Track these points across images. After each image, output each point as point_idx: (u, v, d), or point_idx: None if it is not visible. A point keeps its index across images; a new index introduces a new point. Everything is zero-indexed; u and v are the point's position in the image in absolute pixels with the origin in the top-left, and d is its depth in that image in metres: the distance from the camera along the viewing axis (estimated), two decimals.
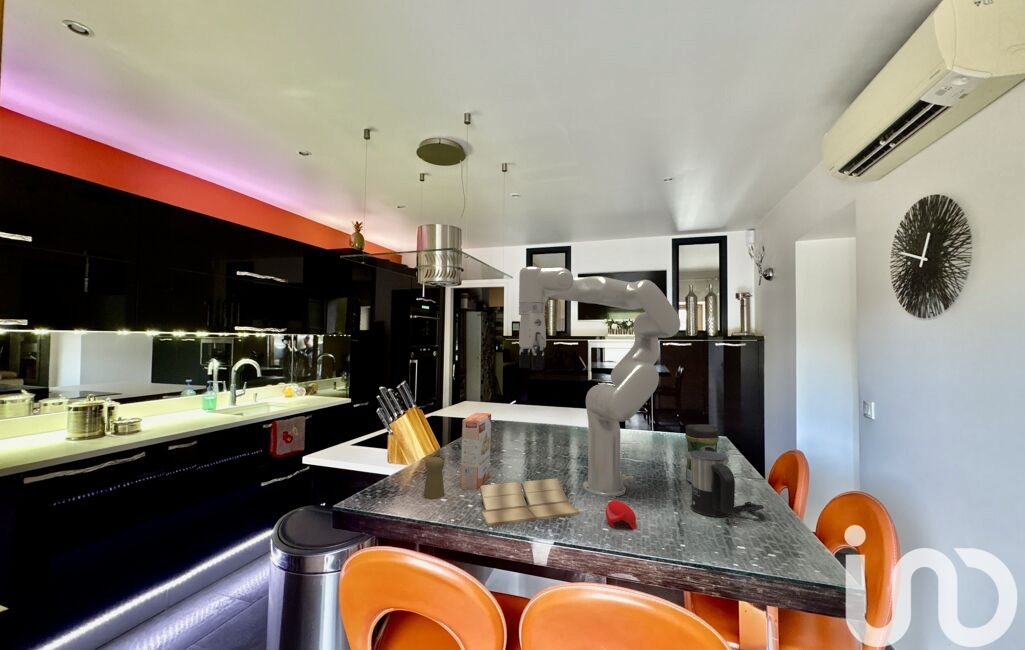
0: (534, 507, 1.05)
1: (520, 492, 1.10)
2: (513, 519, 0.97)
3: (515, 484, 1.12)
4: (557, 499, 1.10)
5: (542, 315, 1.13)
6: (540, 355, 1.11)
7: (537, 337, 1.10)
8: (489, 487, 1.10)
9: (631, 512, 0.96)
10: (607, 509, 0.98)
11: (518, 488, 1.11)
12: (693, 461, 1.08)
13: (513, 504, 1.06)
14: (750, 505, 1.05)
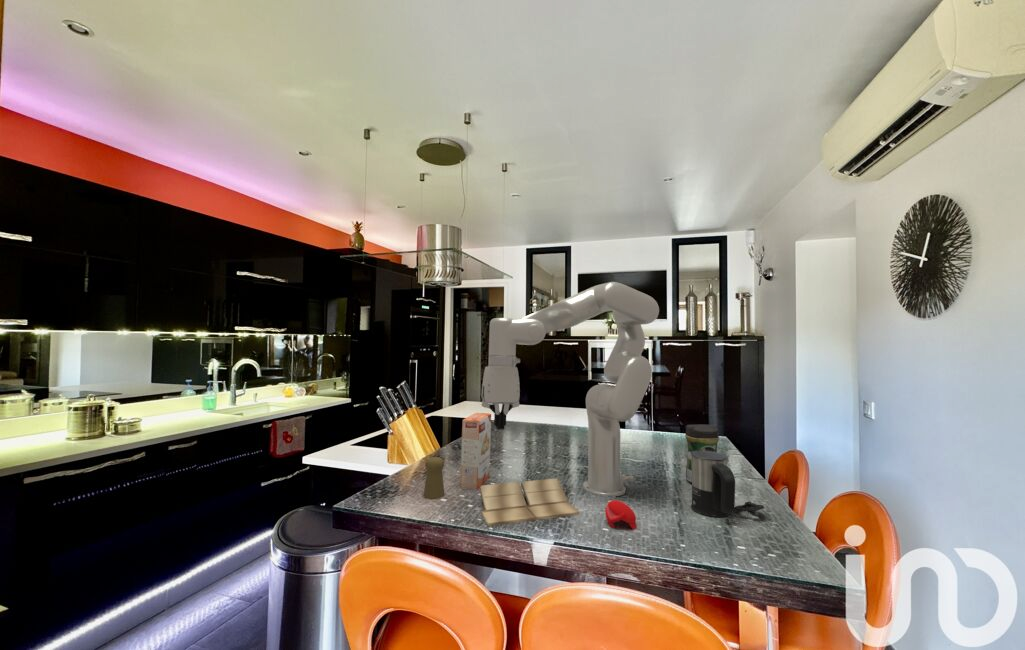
0: (534, 507, 1.05)
1: (520, 492, 1.10)
2: (513, 519, 0.97)
3: (515, 484, 1.12)
4: (557, 499, 1.10)
5: None
6: None
7: None
8: (489, 487, 1.10)
9: (631, 512, 0.96)
10: (606, 509, 0.98)
11: (518, 488, 1.11)
12: (693, 461, 1.08)
13: (513, 504, 1.06)
14: (750, 505, 1.05)
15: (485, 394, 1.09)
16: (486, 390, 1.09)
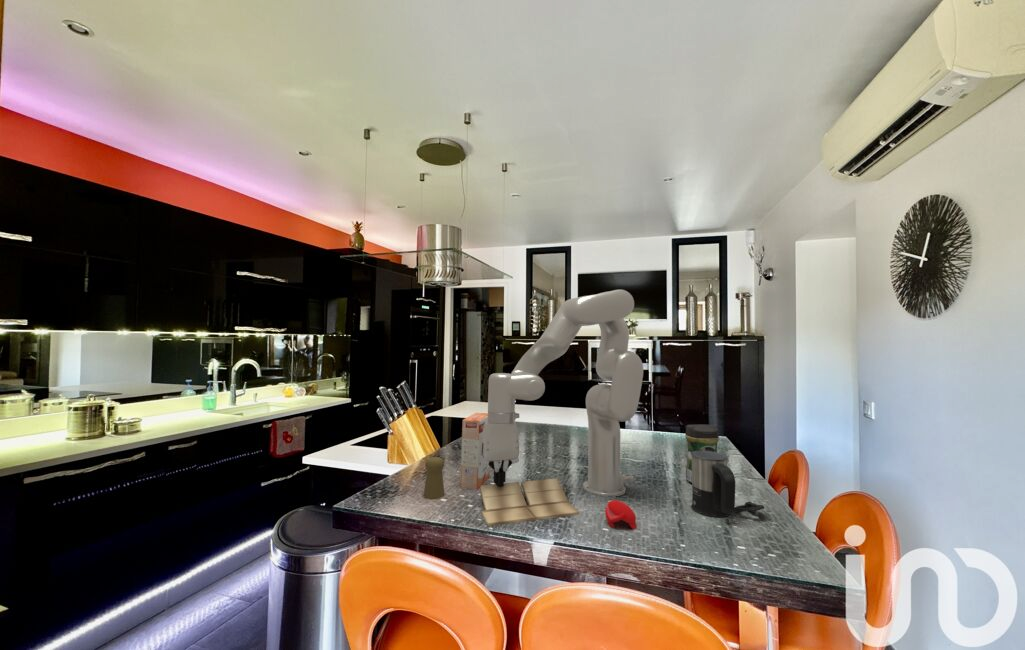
0: (534, 507, 1.05)
1: (520, 492, 1.10)
2: (513, 519, 0.97)
3: (515, 484, 1.12)
4: (557, 499, 1.10)
5: None
6: None
7: None
8: (488, 487, 1.10)
9: (631, 512, 0.96)
10: (606, 509, 0.98)
11: (518, 488, 1.11)
12: (694, 461, 1.08)
13: (513, 504, 1.06)
14: (751, 505, 1.05)
15: (484, 452, 1.08)
16: (485, 448, 1.08)
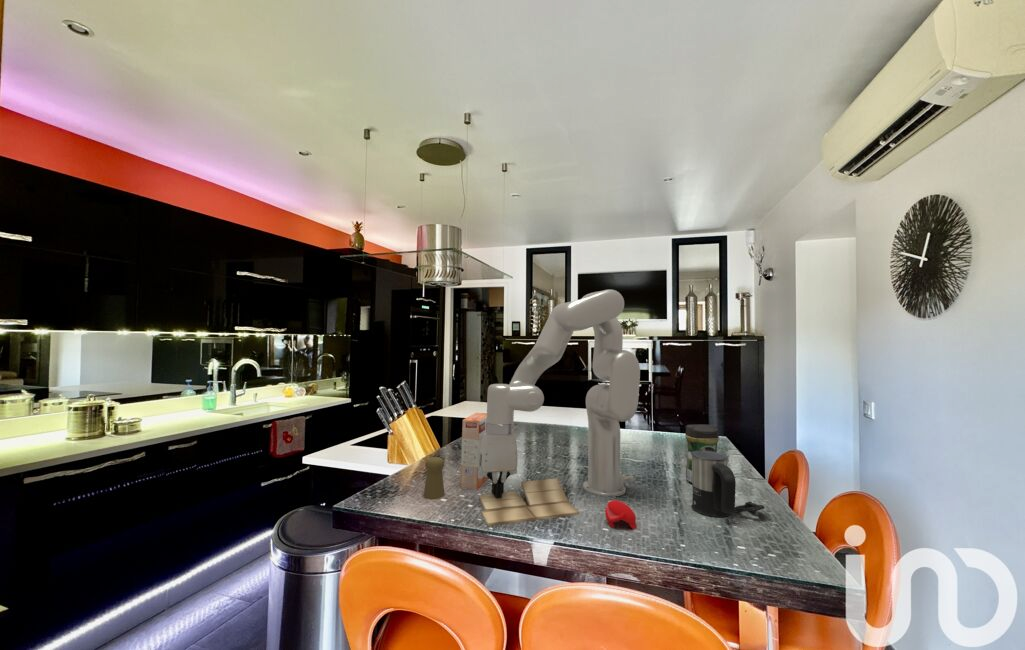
0: (534, 507, 1.05)
1: (519, 497, 1.10)
2: (513, 519, 0.97)
3: (514, 492, 1.13)
4: (557, 499, 1.10)
5: None
6: None
7: None
8: (487, 495, 1.11)
9: (631, 512, 0.96)
10: (606, 509, 0.98)
11: (517, 495, 1.12)
12: (694, 461, 1.08)
13: (513, 505, 1.06)
14: (751, 505, 1.05)
15: (482, 463, 1.08)
16: (483, 459, 1.08)
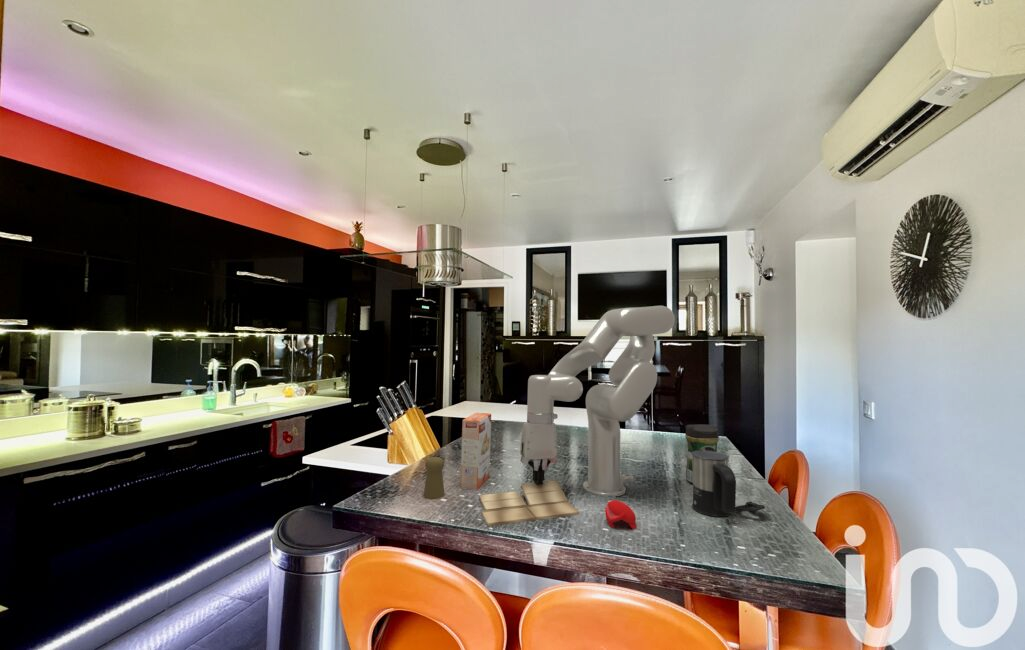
0: (534, 507, 1.05)
1: (519, 497, 1.10)
2: (513, 519, 0.97)
3: (514, 492, 1.13)
4: (557, 499, 1.10)
5: None
6: None
7: None
8: (487, 495, 1.11)
9: (631, 512, 0.96)
10: (606, 509, 0.98)
11: (517, 495, 1.12)
12: (694, 461, 1.08)
13: (513, 505, 1.06)
14: (751, 505, 1.06)
15: (524, 451, 1.12)
16: (526, 447, 1.12)
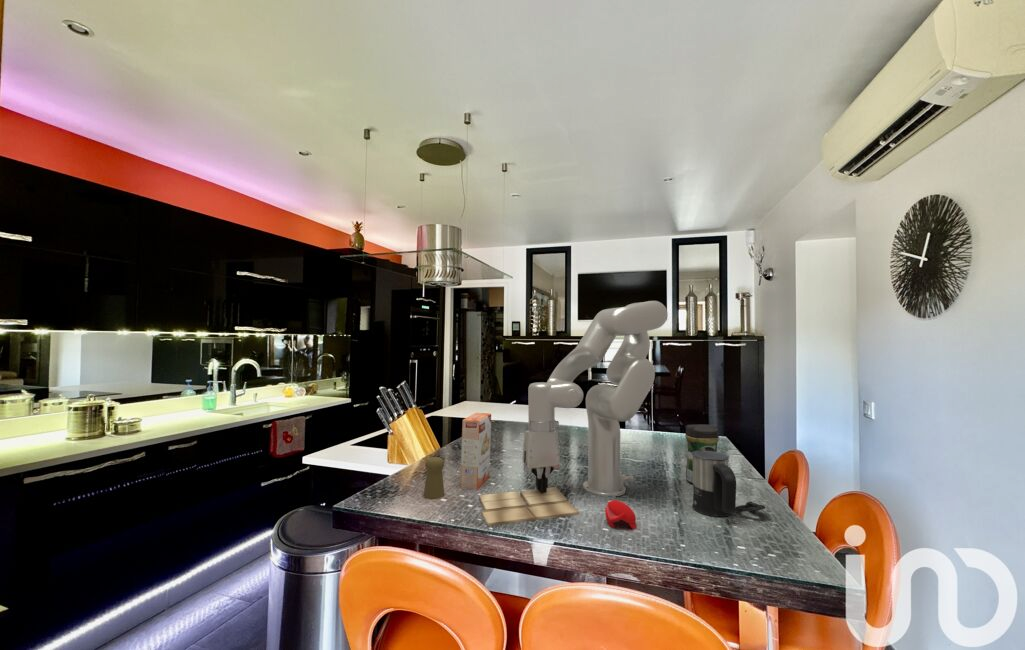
0: (534, 507, 1.05)
1: (519, 497, 1.10)
2: (513, 519, 0.97)
3: (514, 492, 1.13)
4: (557, 499, 1.10)
5: None
6: None
7: None
8: (487, 495, 1.11)
9: (631, 512, 0.96)
10: (606, 509, 0.98)
11: (517, 495, 1.12)
12: (695, 461, 1.08)
13: (513, 505, 1.06)
14: (752, 505, 1.06)
15: (527, 460, 1.12)
16: (528, 456, 1.12)
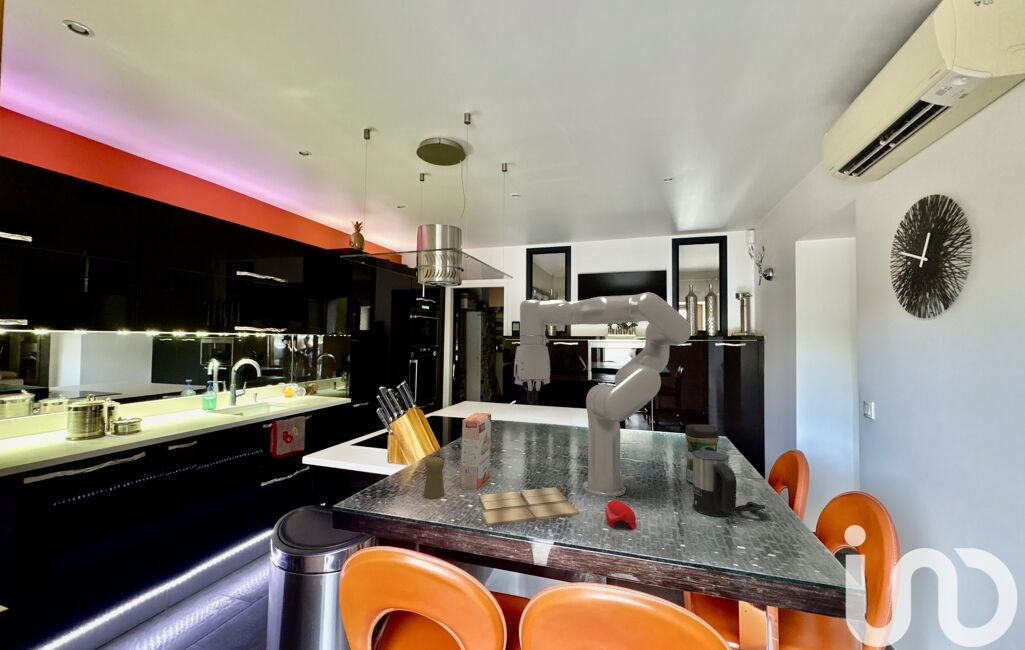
0: (534, 507, 1.05)
1: (519, 497, 1.10)
2: (513, 519, 0.97)
3: (514, 492, 1.13)
4: (557, 499, 1.10)
5: None
6: None
7: None
8: (487, 495, 1.11)
9: (631, 512, 0.96)
10: (606, 509, 0.98)
11: (517, 495, 1.12)
12: (695, 461, 1.08)
13: (513, 505, 1.06)
14: (752, 505, 1.06)
15: (519, 372, 1.16)
16: (519, 368, 1.16)
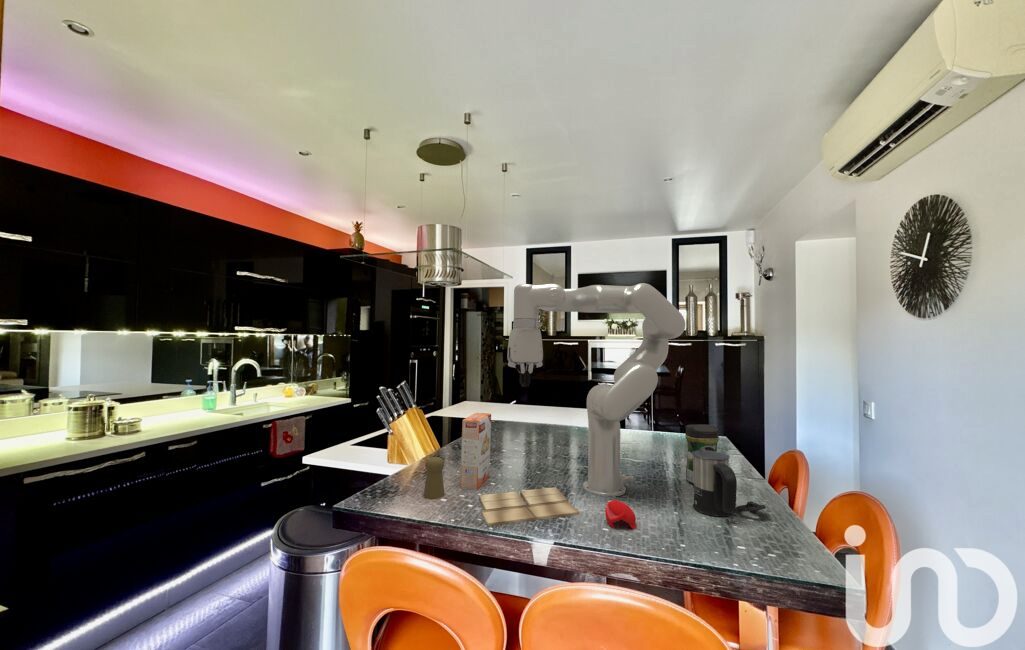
0: (534, 507, 1.05)
1: (519, 497, 1.10)
2: (513, 519, 0.97)
3: (514, 492, 1.13)
4: (557, 499, 1.10)
5: None
6: None
7: None
8: (487, 495, 1.11)
9: (631, 512, 0.96)
10: (606, 509, 0.98)
11: (517, 495, 1.12)
12: (695, 461, 1.08)
13: (513, 505, 1.06)
14: (752, 505, 1.06)
15: (511, 354, 1.18)
16: (512, 350, 1.18)
